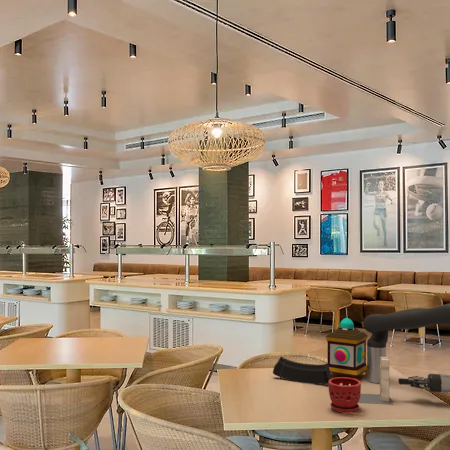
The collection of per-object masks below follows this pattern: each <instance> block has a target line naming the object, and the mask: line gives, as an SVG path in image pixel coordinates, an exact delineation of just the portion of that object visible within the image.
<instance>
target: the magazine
mask: <svg viewBox="0 0 450 450" xmlns="http://www.w3.org/2000/svg"><path fill="white" fill-rule="evenodd" d="M272 374H273V375H274V376H276V377H278V378H279V379H280V380H281V379H284V380H287V381H291V382H296V383H303V384H311V385H328V382H329V380H330V379H332V378H333V377H332V373H330V369H329V367H328V364H327V363H324V364H322V363H321V364H311V363H305V362H304V363H303V362H297V361H293V360H290V359H287V358H284V357H283V356H280V357H278V358H277V361H276V364H274V366H273V369H272Z"/></svg>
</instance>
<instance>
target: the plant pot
mask: <svg viewBox="0 0 450 450" xmlns="http://www.w3.org/2000/svg"><path fill="white" fill-rule="evenodd" d="M361 383H362V382H361V381H360V380H359V379H358V380H357V379H354V377H347V376H346V377H345V376H343V377H342V376H341V377H339V376H338V377H332V379H330V380H329V382H328V384H327V385H328V393H329V394H328V395H329V398H330V401H331V403H330V408H331V409H332V410H333V411H335V412H338V413H344V414H350V413H356V411H359V409H360V405H359V403H358V402H359V399H360V395H361V394H362V393H361V391H362V385H361ZM340 384H342V385H340Z"/></svg>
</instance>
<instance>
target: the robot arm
mask: <svg viewBox="0 0 450 450" xmlns="http://www.w3.org/2000/svg"><path fill="white" fill-rule="evenodd" d="M431 325H432V326H433V325H450V302H449V303H446V304H442V305H439V306H436V307H431V308H425V307H424V308H421V307H415V308H408V309H402V310H398V311H394V312H391V313H387V314H383V313H372V314H369V315H367V316H366V317H365V318H364V320H363V328H364V330H366V331H367V333H371V336H370V337H368V338H367V340H366V365H367V376H366V381H367V382H369V383H374V384H380V357H387V344H388V340H389V331H391V330H414V329H421V328H426V327H429V326H431ZM397 383H398V384H399V385H405V386H406V385H408V386H410V387H411V388H417V389H422V390H424V389H425V388H427V389H428V391H429V392H430V393H444V394H445V393H450V374H443V373H442V374H441V373H428V375H427V378H426V377H424V376H419V375H413V376H409V377H407V378H401V377H399V378H398V382H397Z"/></svg>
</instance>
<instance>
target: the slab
mask: <svg viewBox="0 0 450 450" xmlns="http://www.w3.org/2000/svg"><path fill="white" fill-rule="evenodd" d="M379 394H380V399H381V401H382V402H389V397H390V359H389V358H388V357H387V356H386V357H380V383H379Z"/></svg>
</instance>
